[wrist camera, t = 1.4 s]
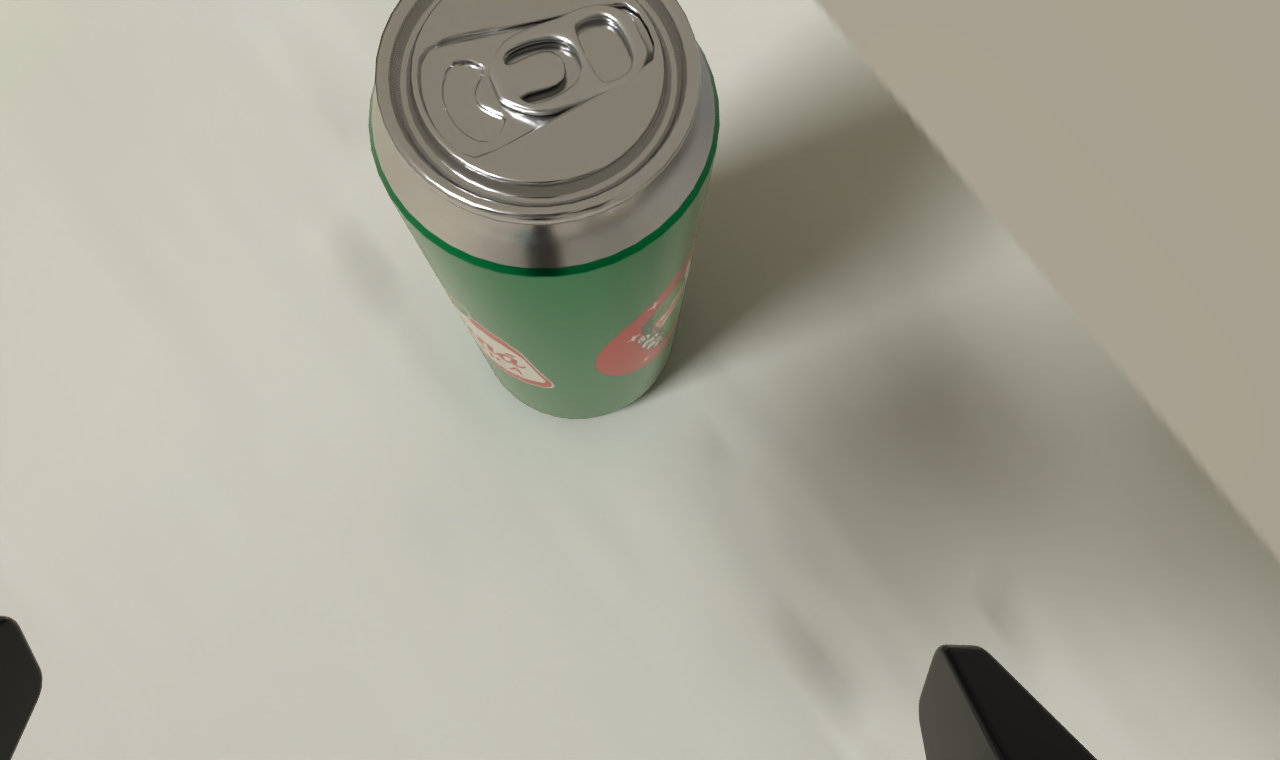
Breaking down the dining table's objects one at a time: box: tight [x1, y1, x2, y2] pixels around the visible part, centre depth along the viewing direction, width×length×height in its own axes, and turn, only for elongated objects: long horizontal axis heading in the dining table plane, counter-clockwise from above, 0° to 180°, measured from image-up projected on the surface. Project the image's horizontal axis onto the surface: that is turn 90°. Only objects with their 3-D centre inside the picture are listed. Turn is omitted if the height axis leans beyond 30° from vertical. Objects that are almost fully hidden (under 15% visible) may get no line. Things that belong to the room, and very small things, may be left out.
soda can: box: [369, 0, 720, 419], centre depth 17 cm, size 5×5×12 cm
